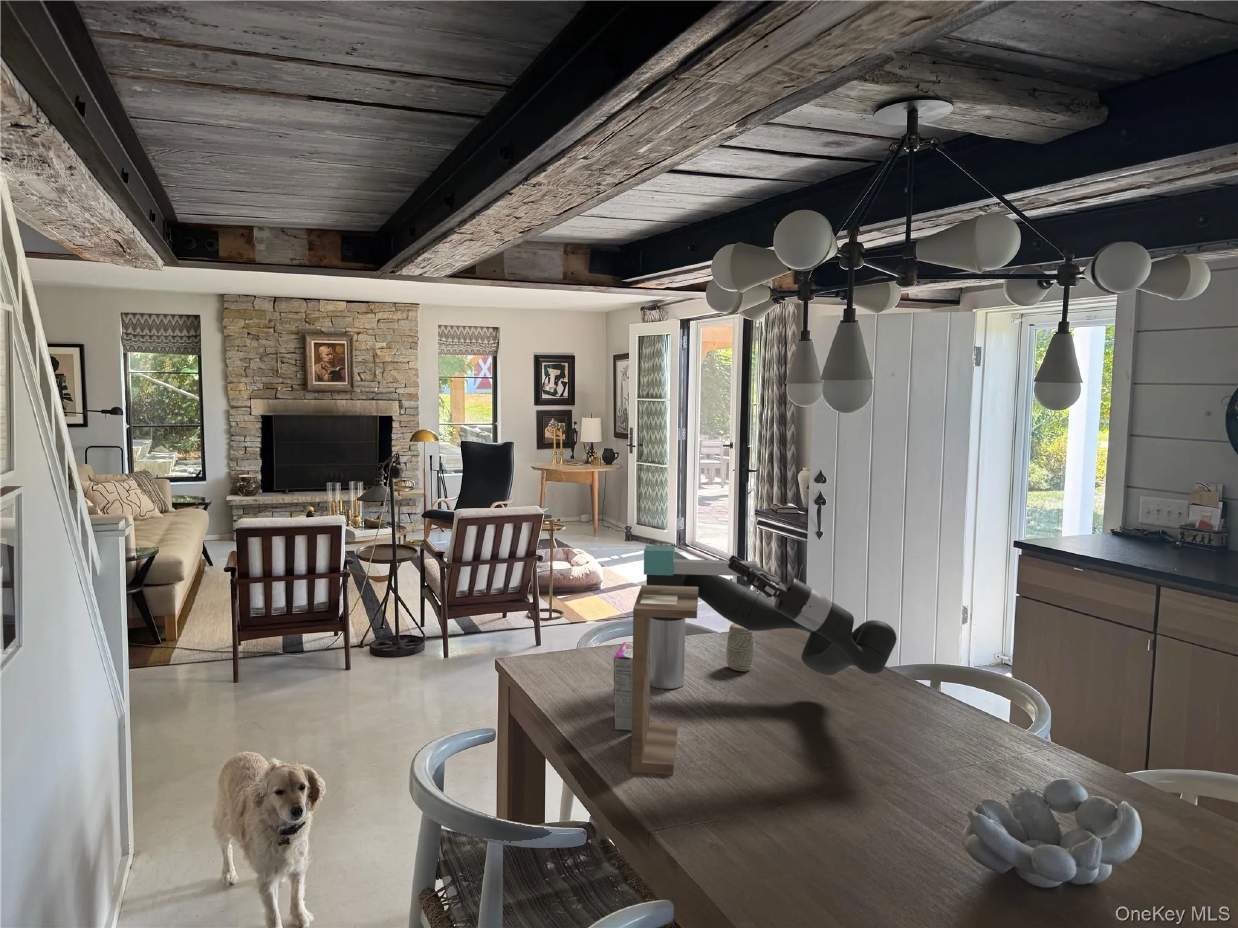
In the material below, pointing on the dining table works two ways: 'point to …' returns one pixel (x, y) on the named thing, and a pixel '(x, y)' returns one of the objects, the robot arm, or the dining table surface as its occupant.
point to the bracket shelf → (649, 739)
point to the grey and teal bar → (684, 563)
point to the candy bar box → (623, 687)
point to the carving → (740, 648)
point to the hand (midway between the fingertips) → (730, 560)
